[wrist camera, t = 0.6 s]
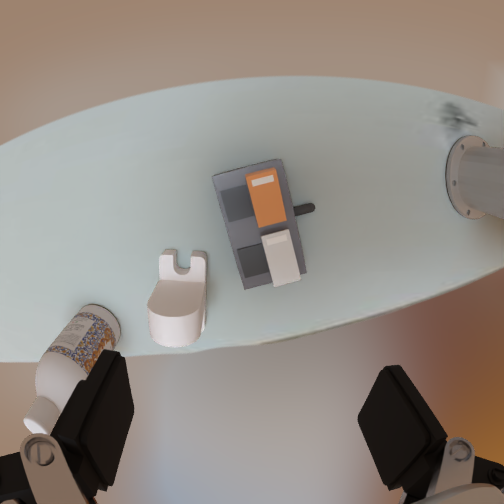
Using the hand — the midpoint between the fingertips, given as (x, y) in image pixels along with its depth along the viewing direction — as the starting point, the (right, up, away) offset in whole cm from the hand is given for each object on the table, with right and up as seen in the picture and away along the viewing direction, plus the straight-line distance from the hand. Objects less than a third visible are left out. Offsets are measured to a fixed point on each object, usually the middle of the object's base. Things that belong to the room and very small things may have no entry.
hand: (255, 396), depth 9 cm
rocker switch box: (+2, +9, +23) cm, 25 cm away
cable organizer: (-8, +1, +26) cm, 27 cm away
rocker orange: (+1, +10, +18) cm, 21 cm away
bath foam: (-22, -5, +26) cm, 34 cm away
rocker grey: (+3, +4, +20) cm, 20 cm away
